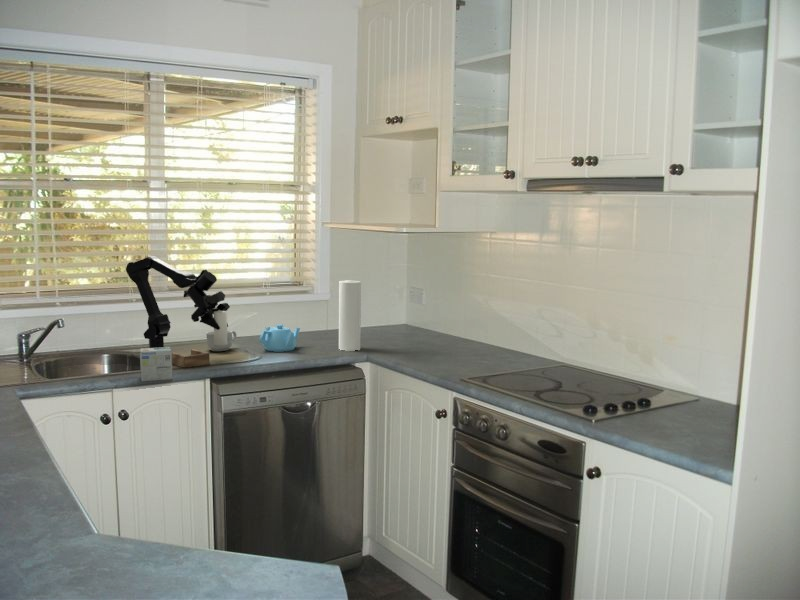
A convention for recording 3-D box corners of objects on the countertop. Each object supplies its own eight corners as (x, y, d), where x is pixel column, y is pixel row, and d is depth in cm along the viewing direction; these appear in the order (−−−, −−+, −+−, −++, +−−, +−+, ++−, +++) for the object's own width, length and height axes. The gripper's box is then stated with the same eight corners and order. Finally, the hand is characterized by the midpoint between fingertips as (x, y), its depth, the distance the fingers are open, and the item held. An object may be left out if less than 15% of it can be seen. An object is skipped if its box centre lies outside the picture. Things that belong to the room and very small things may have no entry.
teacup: (213, 353, 317) (213, 334, 316) (201, 349, 325) (201, 331, 324) (243, 350, 326) (243, 331, 324) (231, 346, 334) (231, 328, 333)
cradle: (169, 362, 298) (168, 352, 297) (192, 359, 305) (192, 348, 305) (185, 367, 290) (185, 356, 289) (209, 363, 297) (209, 353, 297)
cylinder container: (359, 351, 327) (360, 281, 323) (337, 351, 327) (338, 281, 323) (361, 347, 336) (361, 279, 332) (339, 346, 336) (340, 279, 333)
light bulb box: (171, 375, 277) (170, 346, 276) (172, 379, 271) (172, 349, 270) (140, 377, 273) (139, 347, 272) (141, 381, 267) (140, 351, 266)
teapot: (266, 345, 337) (266, 321, 336) (300, 346, 336) (300, 322, 335) (258, 352, 322) (258, 327, 321) (293, 353, 321) (293, 327, 320)
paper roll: (211, 343, 305) (211, 311, 303) (223, 342, 309) (223, 310, 307) (218, 345, 301) (217, 312, 300) (229, 344, 305) (229, 311, 303)
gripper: (197, 287, 295) (221, 318, 292) (225, 283, 312) (248, 312, 309) (180, 306, 299) (204, 336, 296) (210, 300, 316) (232, 329, 313)
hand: (223, 328), depth 304 cm, fingers closed on paper roll, 5 cm apart
